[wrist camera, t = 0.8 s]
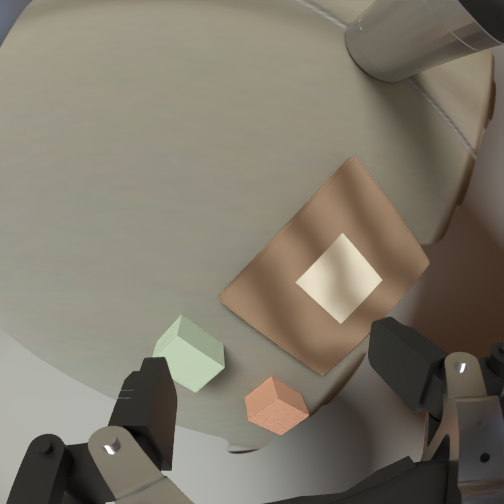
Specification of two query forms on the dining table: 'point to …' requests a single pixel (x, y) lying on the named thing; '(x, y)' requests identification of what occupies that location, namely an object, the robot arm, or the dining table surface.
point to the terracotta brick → (275, 406)
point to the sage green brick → (190, 354)
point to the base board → (329, 271)
